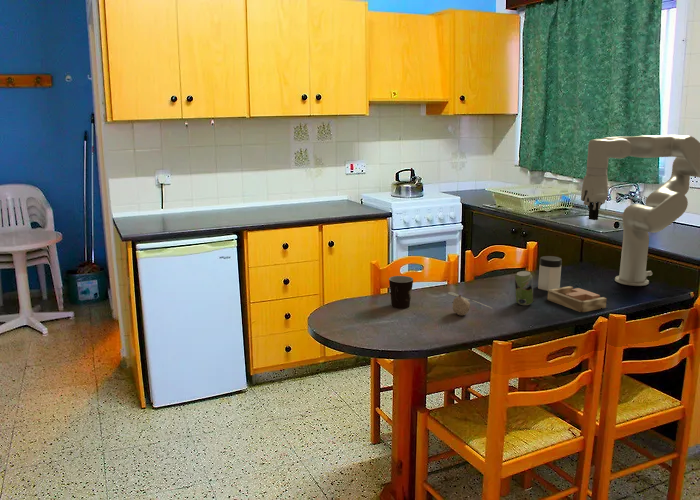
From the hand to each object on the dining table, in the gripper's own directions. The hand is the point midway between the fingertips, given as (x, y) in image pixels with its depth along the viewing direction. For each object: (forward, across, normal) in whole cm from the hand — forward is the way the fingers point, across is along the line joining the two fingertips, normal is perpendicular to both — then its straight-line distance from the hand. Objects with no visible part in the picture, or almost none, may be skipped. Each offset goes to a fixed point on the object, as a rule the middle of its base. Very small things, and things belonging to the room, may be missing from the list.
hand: (593, 219), depth 249 cm
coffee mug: (+26, +81, -14) cm, 86 cm away
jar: (+27, +16, -5) cm, 32 cm away
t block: (+27, +20, +13) cm, 36 cm away
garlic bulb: (+26, +66, +3) cm, 71 cm away
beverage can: (+27, +39, +5) cm, 48 cm away
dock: (+27, +22, +14) cm, 37 cm away
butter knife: (+27, +53, -8) cm, 60 cm away
